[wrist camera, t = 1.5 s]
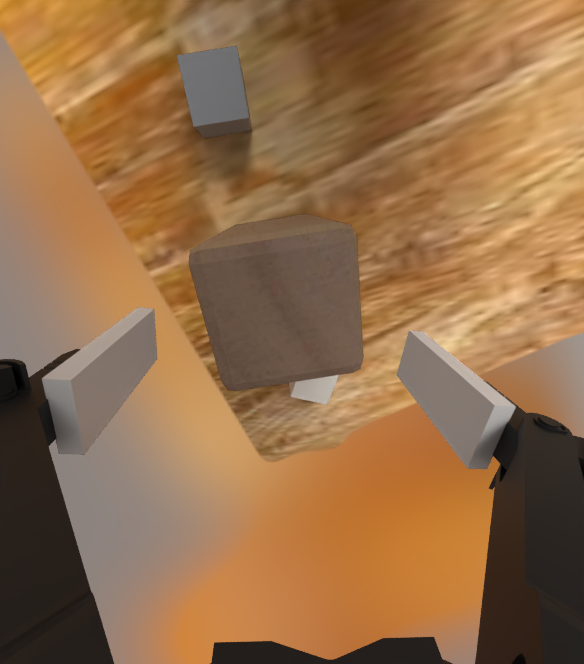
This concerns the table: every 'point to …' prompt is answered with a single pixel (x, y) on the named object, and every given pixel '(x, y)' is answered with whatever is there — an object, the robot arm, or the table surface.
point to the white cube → (314, 389)
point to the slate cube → (215, 91)
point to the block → (281, 300)
